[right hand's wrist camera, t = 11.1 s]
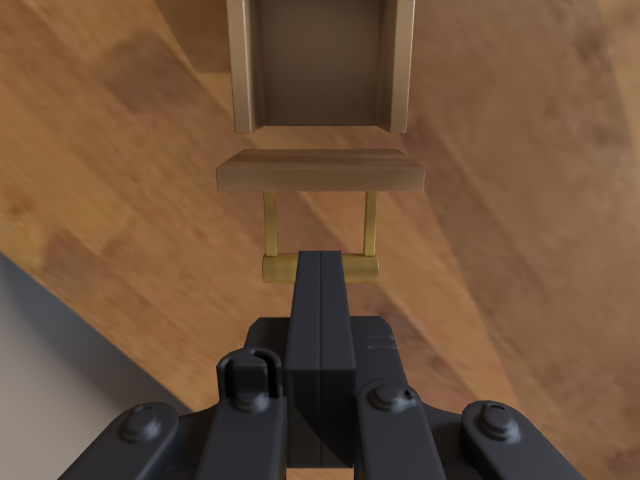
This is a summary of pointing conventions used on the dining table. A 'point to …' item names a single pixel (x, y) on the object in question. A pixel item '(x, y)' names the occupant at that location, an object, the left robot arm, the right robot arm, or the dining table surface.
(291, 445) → the right robot arm
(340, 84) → the drawer
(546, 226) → the dining table surface
